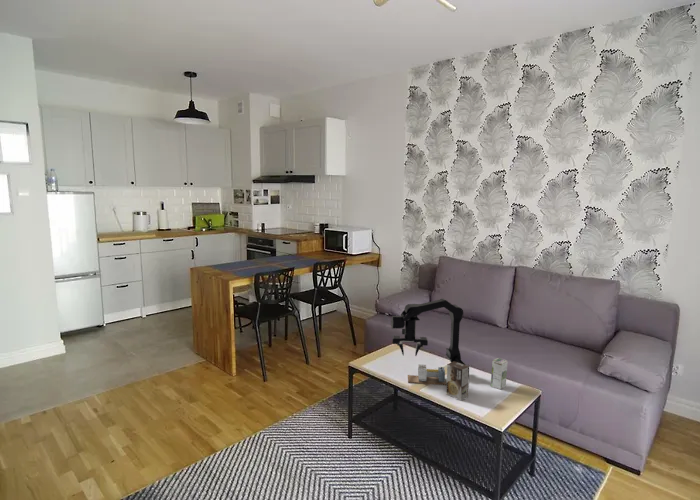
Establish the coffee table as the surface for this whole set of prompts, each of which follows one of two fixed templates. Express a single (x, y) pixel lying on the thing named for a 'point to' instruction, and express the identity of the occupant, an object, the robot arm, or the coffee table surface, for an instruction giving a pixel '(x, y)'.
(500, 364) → the syrup box
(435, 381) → the board
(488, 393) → the coffee table surface
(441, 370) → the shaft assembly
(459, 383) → the coffee box
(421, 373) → the grey slotted block
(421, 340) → the robot arm
